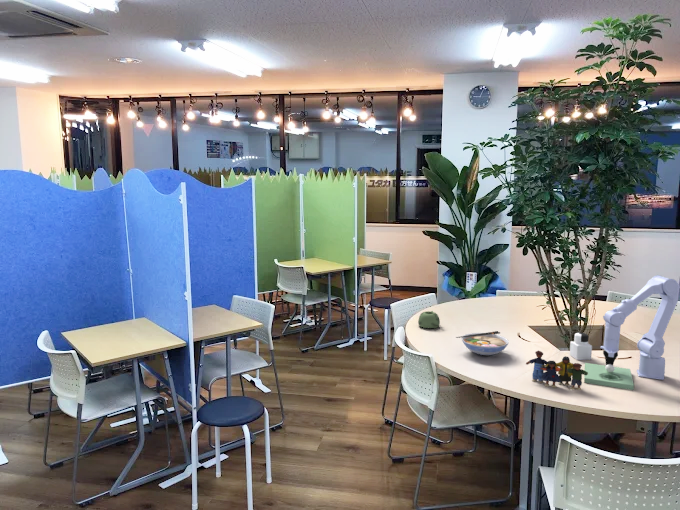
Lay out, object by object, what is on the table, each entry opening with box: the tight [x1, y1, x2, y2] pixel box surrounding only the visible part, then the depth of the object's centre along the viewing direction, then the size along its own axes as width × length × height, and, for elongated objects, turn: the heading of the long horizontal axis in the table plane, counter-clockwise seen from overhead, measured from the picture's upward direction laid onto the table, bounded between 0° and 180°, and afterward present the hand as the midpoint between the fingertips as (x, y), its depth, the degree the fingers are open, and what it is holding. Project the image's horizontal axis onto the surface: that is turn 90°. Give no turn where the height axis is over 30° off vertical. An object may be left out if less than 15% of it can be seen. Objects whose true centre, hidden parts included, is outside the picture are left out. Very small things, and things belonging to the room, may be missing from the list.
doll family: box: [525, 350, 588, 391], centre depth 204 cm, size 23×9×13 cm, turn 75°
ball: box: [605, 364, 615, 373], centre depth 212 cm, size 4×4×4 cm
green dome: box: [417, 310, 441, 329], centre depth 292 cm, size 16×13×9 cm
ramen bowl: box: [456, 330, 509, 356], centre depth 243 cm, size 25×23×8 cm
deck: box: [583, 362, 635, 391], centre depth 211 cm, size 18×20×2 cm
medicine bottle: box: [569, 332, 593, 361], centre depth 235 cm, size 7×7×12 cm
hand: (609, 367), depth 213 cm, fingers closed, pressing on ball
